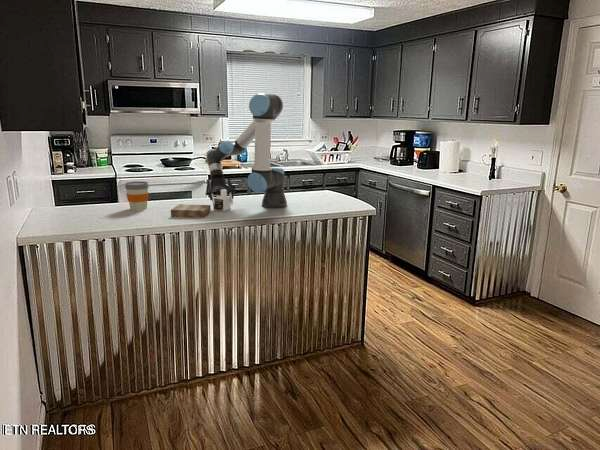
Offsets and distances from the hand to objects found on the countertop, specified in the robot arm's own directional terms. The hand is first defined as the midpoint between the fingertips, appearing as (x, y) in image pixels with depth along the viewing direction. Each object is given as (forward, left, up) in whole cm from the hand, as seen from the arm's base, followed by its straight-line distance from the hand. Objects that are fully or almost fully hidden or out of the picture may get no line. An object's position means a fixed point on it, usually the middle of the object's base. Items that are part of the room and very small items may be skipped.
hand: (223, 203), depth 251 cm
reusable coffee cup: (+49, 0, -4) cm, 49 cm away
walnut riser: (+15, +11, -4) cm, 19 cm away
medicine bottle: (+1, -3, -4) cm, 5 cm away
